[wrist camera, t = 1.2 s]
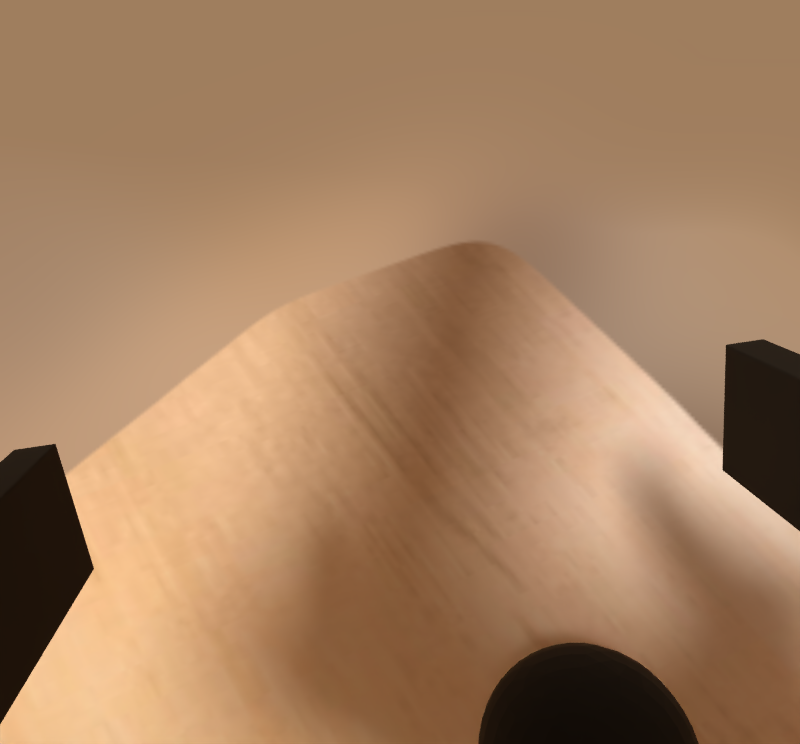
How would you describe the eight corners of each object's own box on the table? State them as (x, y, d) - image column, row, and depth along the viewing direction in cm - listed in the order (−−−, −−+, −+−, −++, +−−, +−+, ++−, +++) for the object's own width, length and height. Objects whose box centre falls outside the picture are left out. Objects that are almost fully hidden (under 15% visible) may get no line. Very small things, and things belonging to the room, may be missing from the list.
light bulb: (539, 598, 26) (539, 605, 17) (685, 687, 24) (776, 749, 15) (466, 739, 25) (422, 828, 16) (612, 842, 23) (661, 1012, 14)
